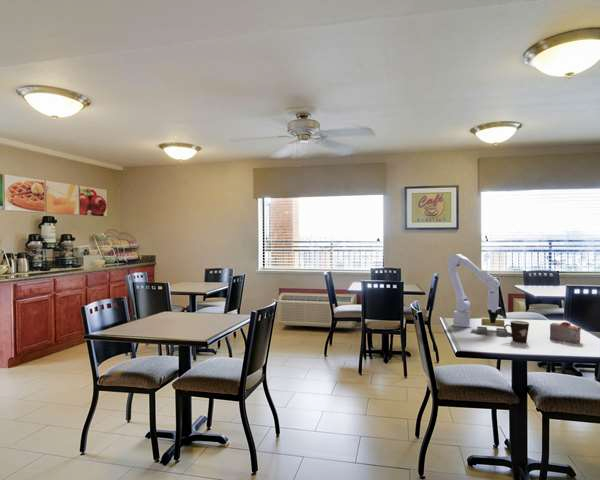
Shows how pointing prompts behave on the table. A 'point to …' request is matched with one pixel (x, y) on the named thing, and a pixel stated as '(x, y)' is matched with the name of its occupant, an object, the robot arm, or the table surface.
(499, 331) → the right chain end
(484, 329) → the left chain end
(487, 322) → the tan wooden beam
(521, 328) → the coffee mug
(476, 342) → the table surface
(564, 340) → the food item
